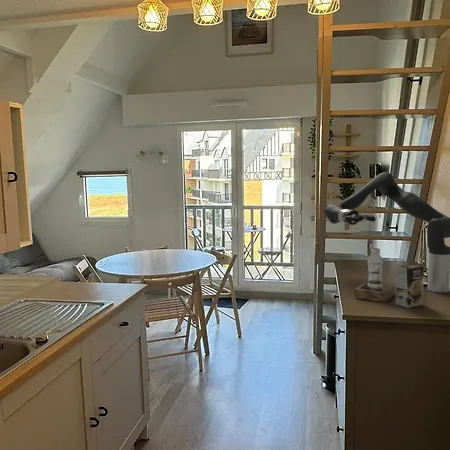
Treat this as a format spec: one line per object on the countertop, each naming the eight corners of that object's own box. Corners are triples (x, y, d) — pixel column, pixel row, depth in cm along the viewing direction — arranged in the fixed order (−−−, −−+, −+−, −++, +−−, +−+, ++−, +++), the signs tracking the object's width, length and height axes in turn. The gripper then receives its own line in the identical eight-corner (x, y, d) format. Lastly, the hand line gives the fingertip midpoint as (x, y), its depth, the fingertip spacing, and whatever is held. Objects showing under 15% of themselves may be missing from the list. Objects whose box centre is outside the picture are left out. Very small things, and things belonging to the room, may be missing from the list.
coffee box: (408, 308, 173) (409, 268, 172) (395, 304, 179) (396, 265, 177) (423, 304, 177) (424, 266, 176) (410, 301, 183) (411, 263, 181)
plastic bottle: (374, 296, 187) (375, 250, 185) (363, 292, 194) (364, 248, 191) (386, 294, 190) (386, 249, 188) (375, 290, 196) (375, 247, 194)
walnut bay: (394, 294, 194) (395, 285, 193) (385, 302, 182) (385, 293, 181) (365, 290, 201) (365, 281, 201) (354, 297, 189) (354, 288, 189)
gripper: (336, 209, 219) (353, 212, 203) (361, 208, 223) (380, 211, 207) (336, 224, 220) (353, 228, 204) (361, 223, 223) (379, 226, 208)
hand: (366, 219), depth 206 cm, fingers open, 8 cm apart
